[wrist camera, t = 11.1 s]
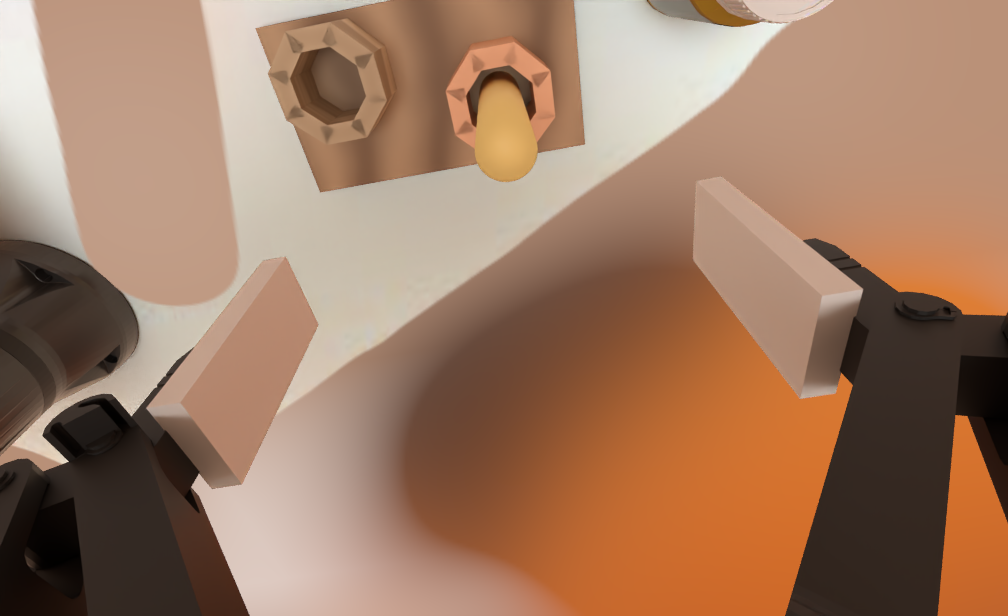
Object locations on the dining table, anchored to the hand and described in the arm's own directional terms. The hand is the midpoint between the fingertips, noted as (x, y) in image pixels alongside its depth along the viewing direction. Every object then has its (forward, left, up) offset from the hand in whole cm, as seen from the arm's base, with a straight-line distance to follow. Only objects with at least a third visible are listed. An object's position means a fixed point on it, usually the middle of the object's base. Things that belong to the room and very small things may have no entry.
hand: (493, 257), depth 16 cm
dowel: (+1, 0, -26) cm, 26 cm away
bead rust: (+1, 0, -26) cm, 26 cm away
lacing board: (-4, +1, -27) cm, 27 cm away
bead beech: (-10, +3, -26) cm, 28 cm away
